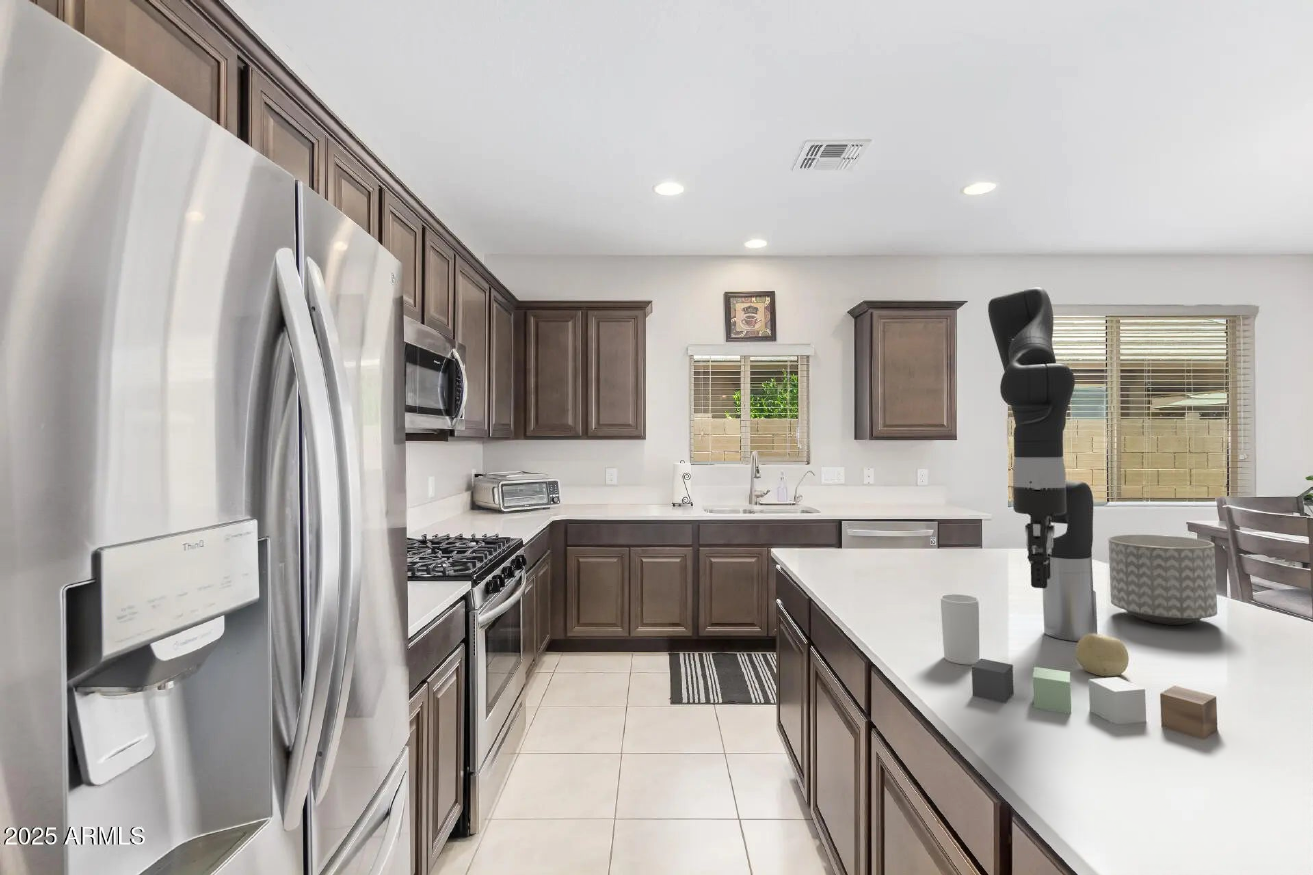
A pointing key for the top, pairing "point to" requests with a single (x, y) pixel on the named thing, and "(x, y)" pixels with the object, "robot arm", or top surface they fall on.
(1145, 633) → the top surface
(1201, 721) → the walnut block
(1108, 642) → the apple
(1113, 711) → the grey block
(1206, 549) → the planter
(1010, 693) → the charcoal block
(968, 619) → the mug
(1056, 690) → the sage block
